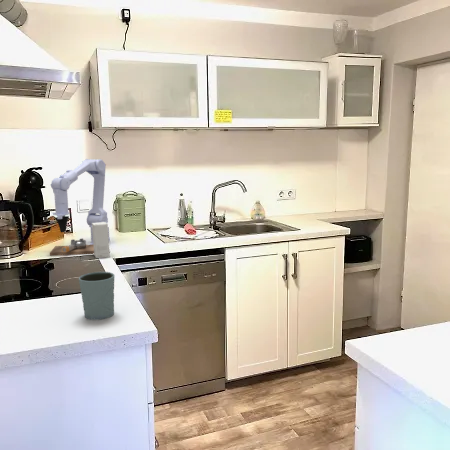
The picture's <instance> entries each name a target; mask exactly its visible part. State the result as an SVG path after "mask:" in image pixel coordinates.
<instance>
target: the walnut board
mask: <svg viewBox="0 0 450 450" xmlns="http://www.w3.org/2000/svg"><path fill="white" fill-rule="evenodd" d="M64 246H65V245H55V246H54V247H53V248H52V249H51V251H50V252H49V256H51V257H52V256H53V257H57V256H75V255H77V256H78V255H79V256H80V255H94V254H93V253H94V245H90V244H86V248H83V249H73V250H70V251H69V252H62V247H64Z"/></svg>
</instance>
